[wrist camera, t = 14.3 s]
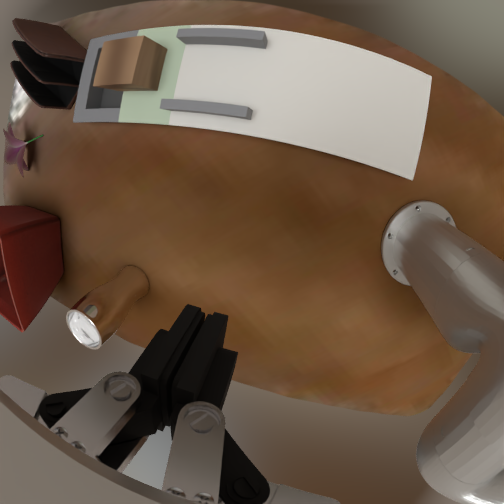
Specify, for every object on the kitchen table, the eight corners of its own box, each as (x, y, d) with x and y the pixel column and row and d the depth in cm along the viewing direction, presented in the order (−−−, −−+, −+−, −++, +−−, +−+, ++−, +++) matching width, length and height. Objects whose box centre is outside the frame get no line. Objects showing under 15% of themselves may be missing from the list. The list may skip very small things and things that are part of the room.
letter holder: (60, 26, 28) (10, 14, 15) (101, 63, 31) (39, 49, 18) (35, 65, 31) (-15, 63, 18) (70, 110, 35) (8, 111, 22)
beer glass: (125, 297, 46) (76, 346, 32) (114, 263, 44) (58, 306, 30) (156, 299, 45) (109, 354, 31) (146, 262, 42) (90, 310, 29)
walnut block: (167, 49, 26) (144, 35, 20) (157, 90, 28) (131, 83, 23) (130, 51, 26) (103, 41, 21) (120, 91, 29) (92, 86, 23)
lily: (31, 111, 36) (-6, 130, 30) (43, 107, 31) (-3, 129, 25) (42, 160, 44) (7, 180, 38) (55, 166, 39) (14, 190, 33)
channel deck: (419, 82, 26) (442, 71, 19) (401, 176, 31) (422, 184, 25) (105, 44, 29) (78, 35, 23) (89, 122, 35) (59, 122, 28)
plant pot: (27, 265, 50) (-21, 296, 34) (20, 189, 42) (-38, 211, 27) (76, 291, 49) (24, 335, 33) (70, 203, 41) (-1, 234, 26)
